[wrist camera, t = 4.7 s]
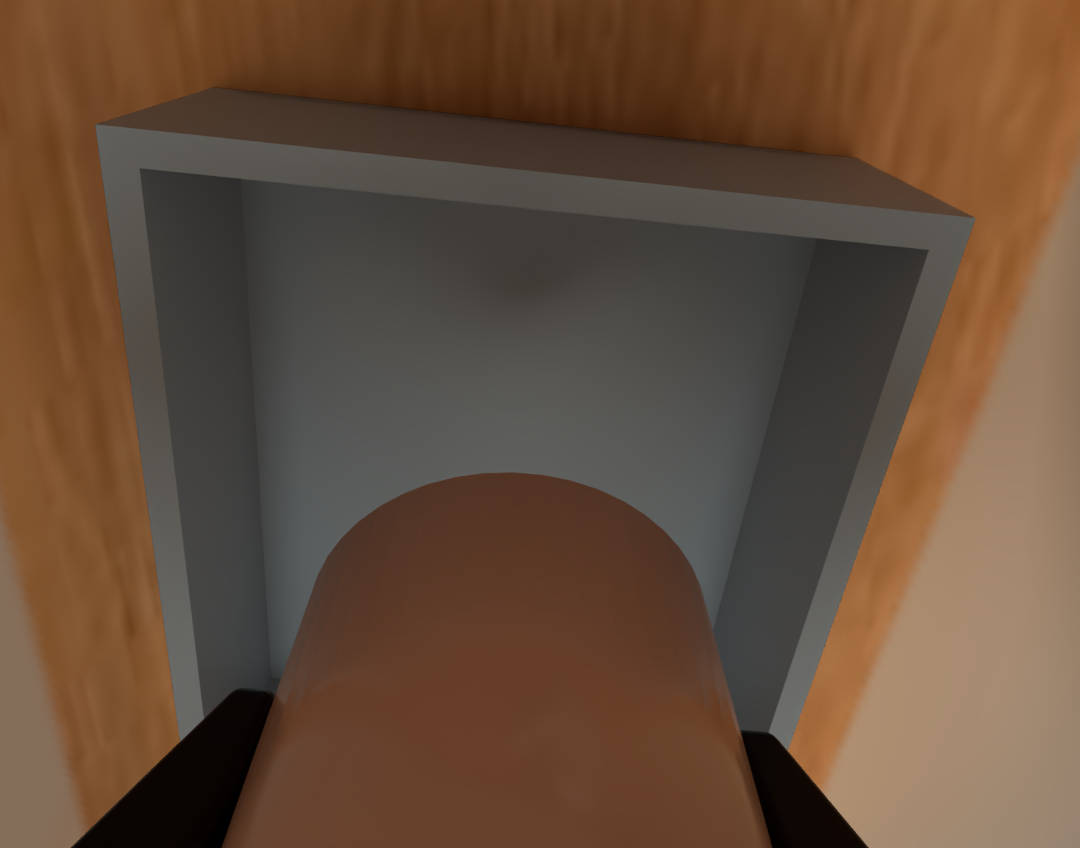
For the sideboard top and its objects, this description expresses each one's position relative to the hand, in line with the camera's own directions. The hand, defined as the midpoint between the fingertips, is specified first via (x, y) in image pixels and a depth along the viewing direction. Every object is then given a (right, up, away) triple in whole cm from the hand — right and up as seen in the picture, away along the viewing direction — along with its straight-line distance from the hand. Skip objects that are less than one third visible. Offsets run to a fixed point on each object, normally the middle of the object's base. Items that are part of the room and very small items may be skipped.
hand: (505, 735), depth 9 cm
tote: (0, +3, +13) cm, 13 cm away
